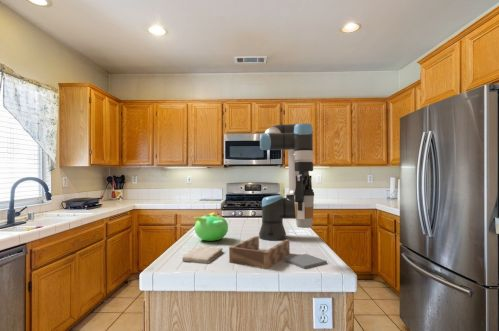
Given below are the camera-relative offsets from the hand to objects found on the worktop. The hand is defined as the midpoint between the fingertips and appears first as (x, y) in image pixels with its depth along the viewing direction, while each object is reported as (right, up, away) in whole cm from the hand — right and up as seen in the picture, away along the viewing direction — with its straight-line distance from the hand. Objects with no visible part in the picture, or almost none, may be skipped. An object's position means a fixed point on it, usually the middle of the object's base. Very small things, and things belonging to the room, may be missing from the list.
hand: (304, 217), depth 115 cm
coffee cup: (0, -4, 0) cm, 4 cm away
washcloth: (-42, -19, +8) cm, 47 cm away
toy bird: (-43, -20, +38) cm, 61 cm away
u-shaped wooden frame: (-17, -18, +7) cm, 26 cm away
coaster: (0, -18, 0) cm, 18 cm away
